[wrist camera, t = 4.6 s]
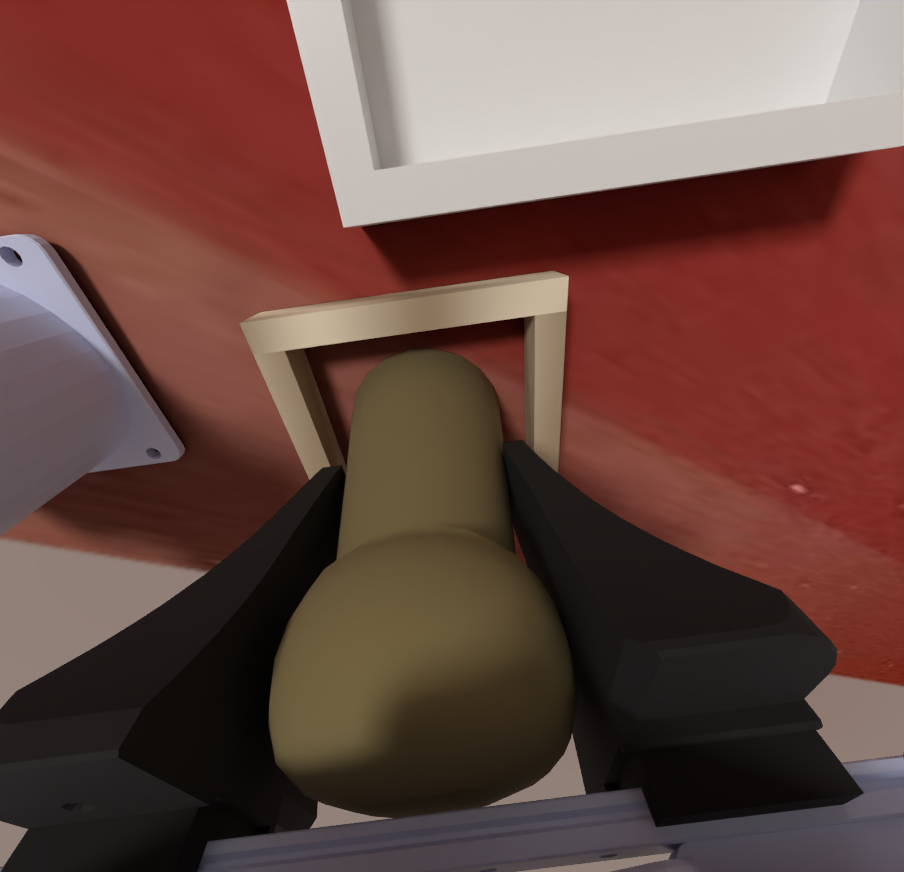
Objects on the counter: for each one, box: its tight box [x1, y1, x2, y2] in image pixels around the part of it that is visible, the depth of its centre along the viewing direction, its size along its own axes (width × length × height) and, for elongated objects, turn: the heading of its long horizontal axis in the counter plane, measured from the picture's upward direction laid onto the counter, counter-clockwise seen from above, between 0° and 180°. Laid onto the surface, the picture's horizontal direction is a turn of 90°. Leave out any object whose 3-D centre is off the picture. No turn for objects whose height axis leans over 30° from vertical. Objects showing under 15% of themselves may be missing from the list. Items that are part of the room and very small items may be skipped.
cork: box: [268, 349, 578, 818], centre depth 9 cm, size 6×6×11 cm
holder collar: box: [240, 271, 569, 480], centre depth 14 cm, size 10×10×2 cm
